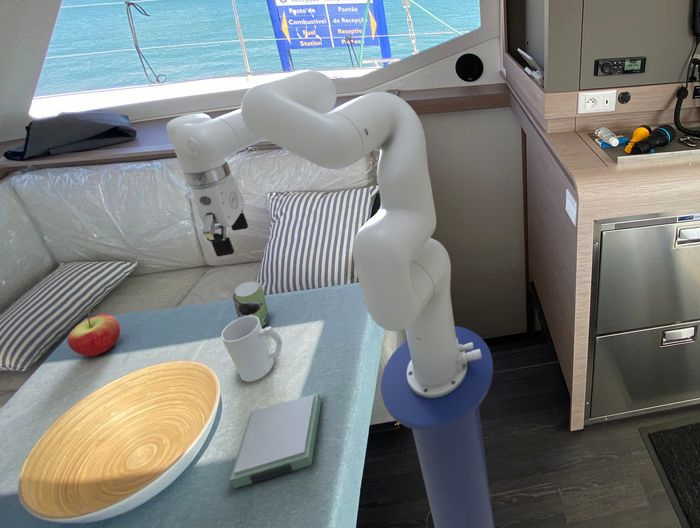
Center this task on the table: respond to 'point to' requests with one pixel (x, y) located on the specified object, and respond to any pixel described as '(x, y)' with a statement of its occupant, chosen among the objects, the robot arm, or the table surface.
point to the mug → (250, 347)
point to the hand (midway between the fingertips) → (233, 241)
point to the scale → (277, 441)
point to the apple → (94, 335)
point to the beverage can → (251, 301)
